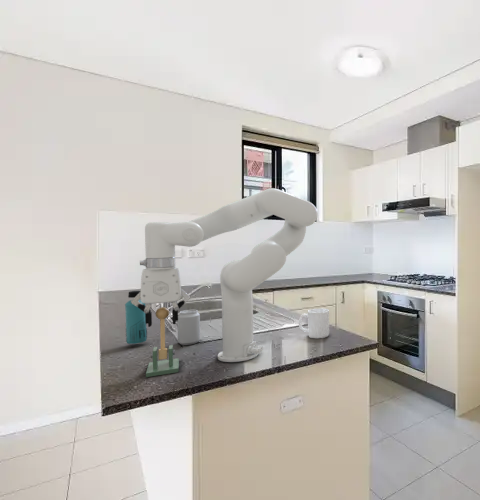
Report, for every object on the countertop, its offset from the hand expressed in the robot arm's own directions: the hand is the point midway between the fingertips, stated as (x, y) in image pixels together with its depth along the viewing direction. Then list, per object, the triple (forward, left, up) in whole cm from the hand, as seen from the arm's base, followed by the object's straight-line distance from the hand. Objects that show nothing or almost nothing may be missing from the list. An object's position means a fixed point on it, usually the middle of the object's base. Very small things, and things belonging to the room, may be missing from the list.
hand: (162, 323), depth 105 cm
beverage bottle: (+30, -16, -14) cm, 36 cm away
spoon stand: (0, 0, -13) cm, 14 cm away
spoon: (+1, -1, -3) cm, 4 cm away
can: (+14, -24, -14) cm, 31 cm away
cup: (-27, -45, -14) cm, 54 cm away
